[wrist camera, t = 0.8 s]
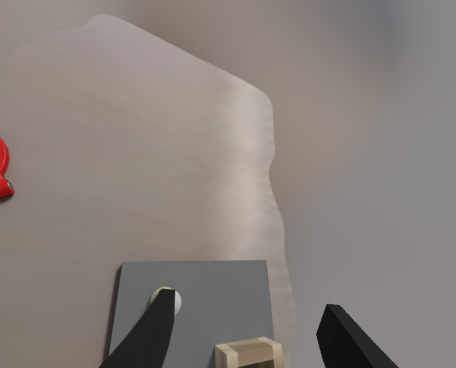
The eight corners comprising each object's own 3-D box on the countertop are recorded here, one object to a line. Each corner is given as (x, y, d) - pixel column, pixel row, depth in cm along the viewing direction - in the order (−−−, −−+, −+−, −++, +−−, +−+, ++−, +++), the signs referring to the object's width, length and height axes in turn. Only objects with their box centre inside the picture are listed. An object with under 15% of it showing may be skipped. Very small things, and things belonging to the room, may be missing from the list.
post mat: (275, 407, 22) (302, 431, 18) (92, 465, 16) (83, 517, 12) (262, 260, 27) (281, 258, 24) (122, 262, 21) (121, 259, 18)
